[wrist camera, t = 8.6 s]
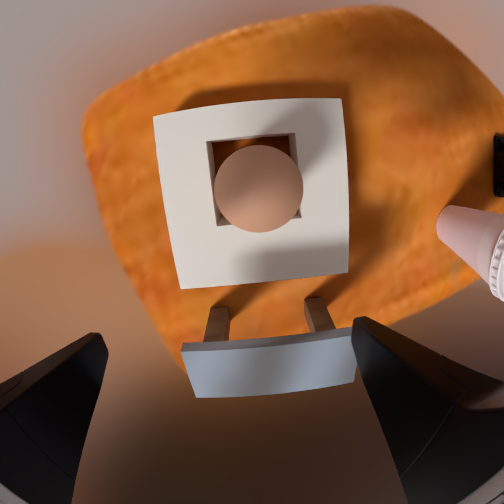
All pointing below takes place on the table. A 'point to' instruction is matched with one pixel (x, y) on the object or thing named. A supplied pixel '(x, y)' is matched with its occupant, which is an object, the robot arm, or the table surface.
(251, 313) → the table surface
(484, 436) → the robot arm
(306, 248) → the socket board
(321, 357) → the grey arch
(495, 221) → the smoothie
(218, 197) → the peg
